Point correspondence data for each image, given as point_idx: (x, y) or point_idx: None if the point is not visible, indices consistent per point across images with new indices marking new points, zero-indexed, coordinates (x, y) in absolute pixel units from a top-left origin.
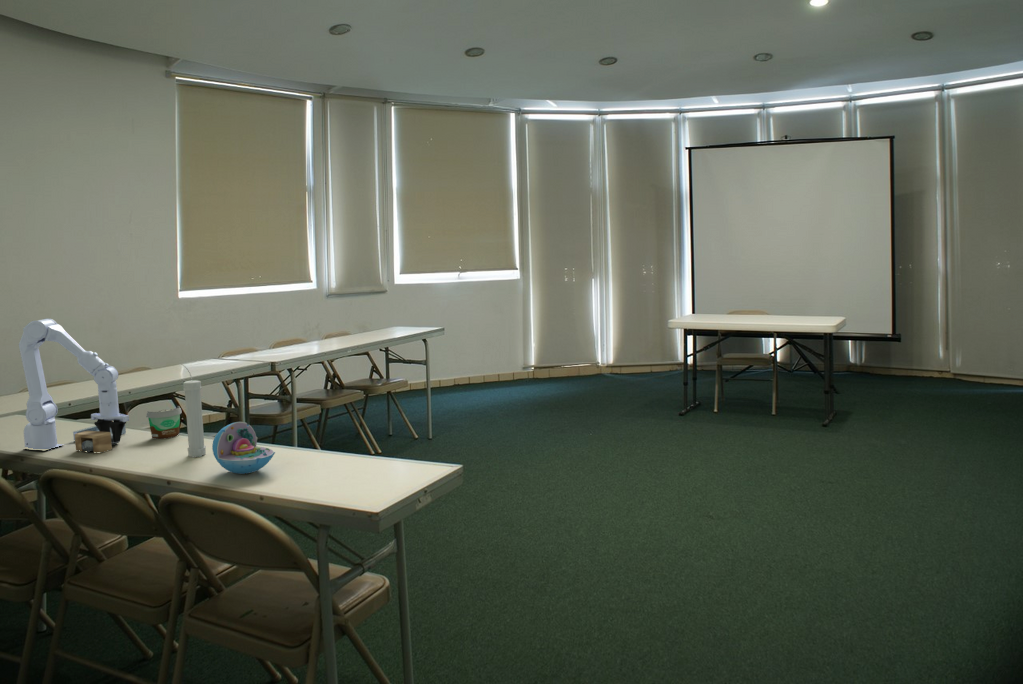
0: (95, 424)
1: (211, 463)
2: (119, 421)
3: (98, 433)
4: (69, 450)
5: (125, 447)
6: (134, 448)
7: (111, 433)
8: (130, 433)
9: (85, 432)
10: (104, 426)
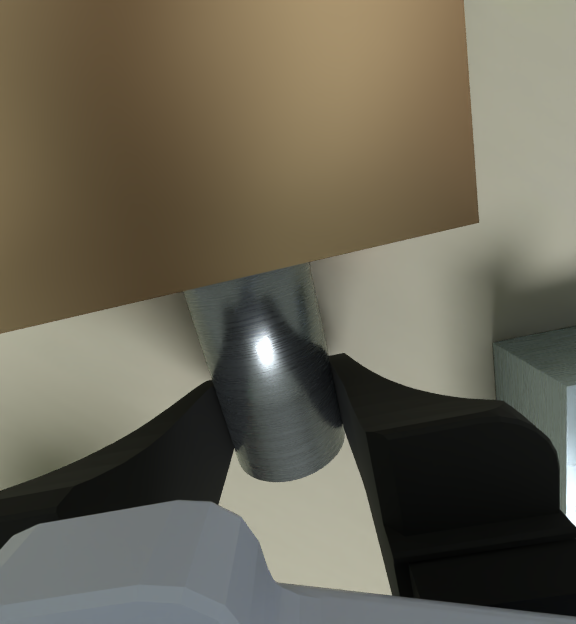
0: (472, 404)
1: None
2: None
3: (39, 183)
4: (475, 59)
5: (110, 375)
6: (20, 388)
7: (279, 439)
8: None
9: (352, 101)
10: (365, 474)
